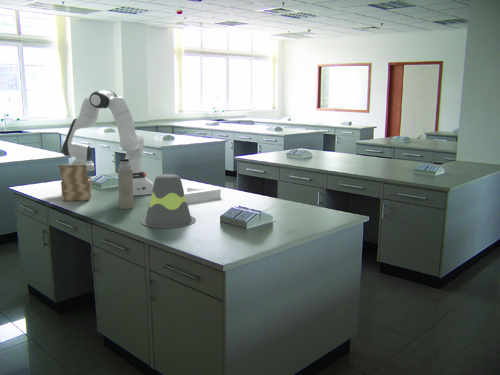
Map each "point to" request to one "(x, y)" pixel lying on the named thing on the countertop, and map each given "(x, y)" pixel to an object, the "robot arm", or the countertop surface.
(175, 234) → the countertop surface
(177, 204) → the grey tapered cylinder
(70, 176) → the carton flap
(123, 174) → the thermos bottle
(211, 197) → the triangular ruler
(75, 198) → the carton
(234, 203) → the countertop surface
